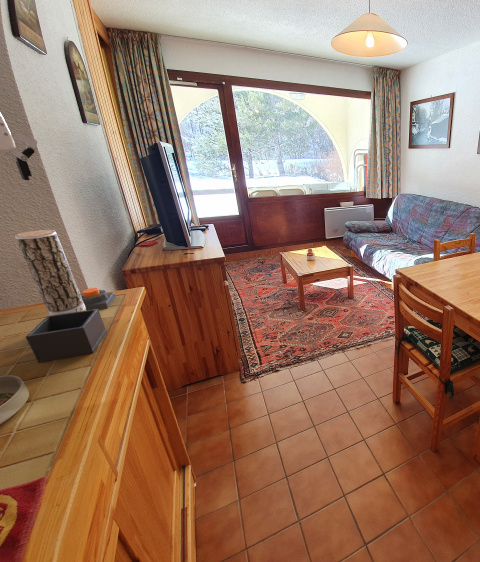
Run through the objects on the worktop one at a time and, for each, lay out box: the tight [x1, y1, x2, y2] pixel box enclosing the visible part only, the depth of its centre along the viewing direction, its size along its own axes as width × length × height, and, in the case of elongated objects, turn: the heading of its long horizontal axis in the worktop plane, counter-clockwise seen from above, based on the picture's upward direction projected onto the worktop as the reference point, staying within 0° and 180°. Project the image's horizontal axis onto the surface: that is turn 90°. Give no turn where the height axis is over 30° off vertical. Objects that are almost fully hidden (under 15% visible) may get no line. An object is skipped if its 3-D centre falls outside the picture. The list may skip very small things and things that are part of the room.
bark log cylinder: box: [14, 229, 87, 316], centre depth 77 cm, size 7×7×25 cm
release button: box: [81, 287, 100, 298], centre depth 91 cm, size 4×4×2 cm
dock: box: [25, 309, 107, 364], centre depth 72 cm, size 10×10×7 cm
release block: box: [80, 289, 117, 311], centre depth 92 cm, size 8×8×4 cm
